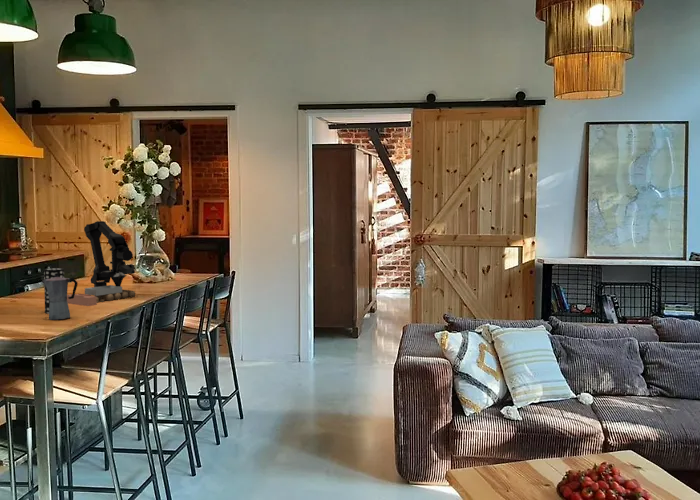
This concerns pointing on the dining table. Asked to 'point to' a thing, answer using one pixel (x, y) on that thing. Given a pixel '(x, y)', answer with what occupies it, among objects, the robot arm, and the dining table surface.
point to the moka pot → (59, 296)
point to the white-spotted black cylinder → (47, 275)
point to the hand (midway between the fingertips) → (118, 288)
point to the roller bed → (116, 295)
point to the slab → (103, 290)
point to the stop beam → (82, 299)
